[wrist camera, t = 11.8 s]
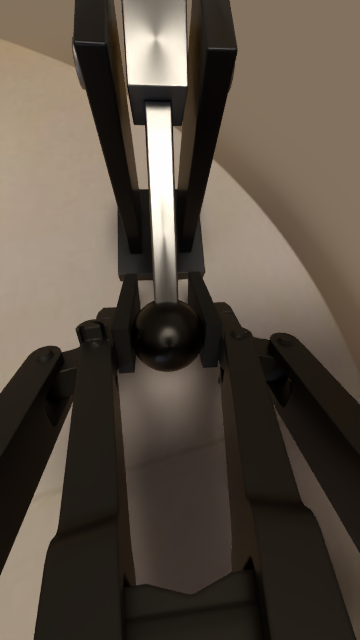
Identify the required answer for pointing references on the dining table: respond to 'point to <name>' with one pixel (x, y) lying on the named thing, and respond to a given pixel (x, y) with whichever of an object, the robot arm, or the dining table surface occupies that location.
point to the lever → (160, 172)
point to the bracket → (197, 131)
